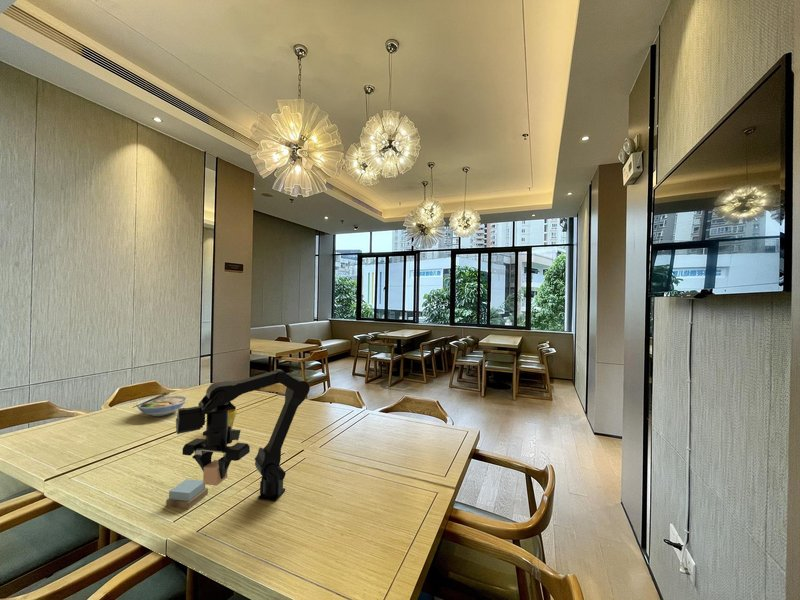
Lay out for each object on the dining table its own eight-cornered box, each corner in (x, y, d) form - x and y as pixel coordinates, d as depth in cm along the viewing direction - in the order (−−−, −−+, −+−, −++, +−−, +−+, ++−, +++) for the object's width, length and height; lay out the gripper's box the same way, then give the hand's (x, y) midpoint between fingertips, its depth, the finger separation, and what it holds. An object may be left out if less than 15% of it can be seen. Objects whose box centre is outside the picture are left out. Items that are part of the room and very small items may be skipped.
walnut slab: (207, 495, 107) (208, 488, 107) (188, 511, 99) (188, 502, 99) (186, 493, 109) (186, 485, 109) (166, 507, 101) (166, 499, 101)
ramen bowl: (165, 423, 166) (166, 407, 166) (122, 421, 167) (122, 406, 167) (196, 407, 191) (197, 393, 191) (159, 406, 192) (159, 392, 192)
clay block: (227, 477, 99) (227, 461, 99) (216, 485, 94) (217, 468, 94) (214, 476, 100) (214, 459, 100) (203, 484, 95) (203, 467, 95)
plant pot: (223, 435, 153) (224, 415, 153) (207, 432, 156) (208, 412, 156) (240, 428, 163) (241, 408, 163) (225, 425, 166) (225, 406, 166)
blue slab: (205, 488, 107) (205, 480, 107) (189, 501, 100) (189, 493, 100) (186, 486, 108) (186, 478, 108) (168, 498, 101) (169, 491, 101)
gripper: (260, 418, 104) (259, 467, 104) (209, 414, 107) (207, 461, 106) (238, 432, 93) (236, 486, 93) (181, 426, 96) (179, 479, 95)
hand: (215, 477), depth 97 cm, fingers closed on clay block, 4 cm apart
